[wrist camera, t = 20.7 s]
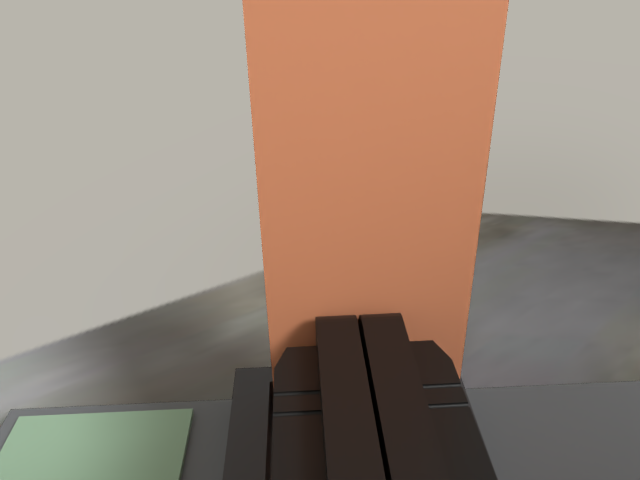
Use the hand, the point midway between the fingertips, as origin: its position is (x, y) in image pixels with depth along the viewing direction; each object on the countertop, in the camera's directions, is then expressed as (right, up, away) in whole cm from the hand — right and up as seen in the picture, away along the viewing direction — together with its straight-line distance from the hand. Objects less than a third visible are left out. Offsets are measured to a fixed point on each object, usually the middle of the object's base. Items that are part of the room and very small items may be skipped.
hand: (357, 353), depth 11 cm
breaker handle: (0, -4, +4) cm, 6 cm away
